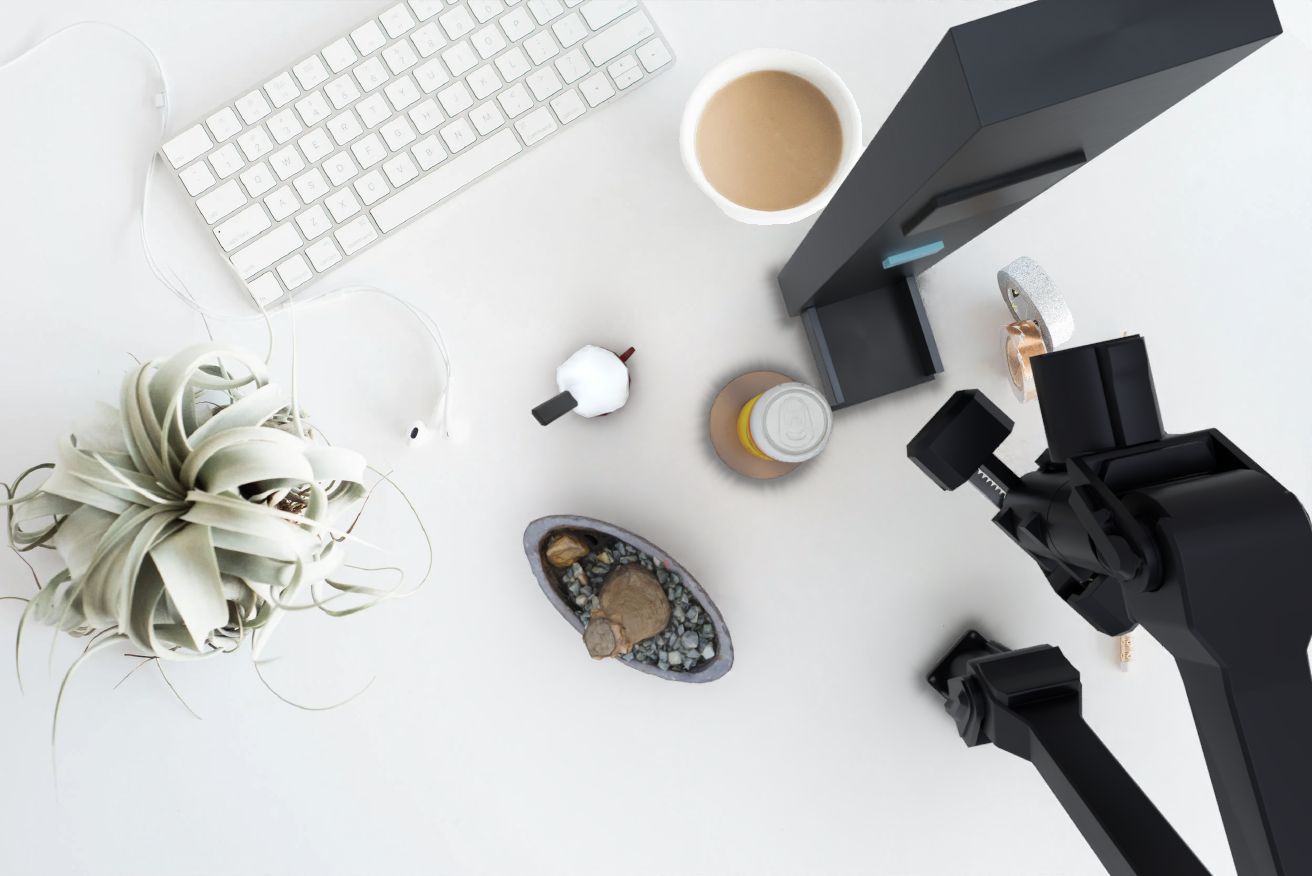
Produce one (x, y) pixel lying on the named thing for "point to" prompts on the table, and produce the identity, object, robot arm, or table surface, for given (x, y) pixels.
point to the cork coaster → (726, 425)
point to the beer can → (786, 423)
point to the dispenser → (989, 160)
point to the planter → (628, 599)
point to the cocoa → (588, 385)
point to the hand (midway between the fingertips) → (989, 503)
